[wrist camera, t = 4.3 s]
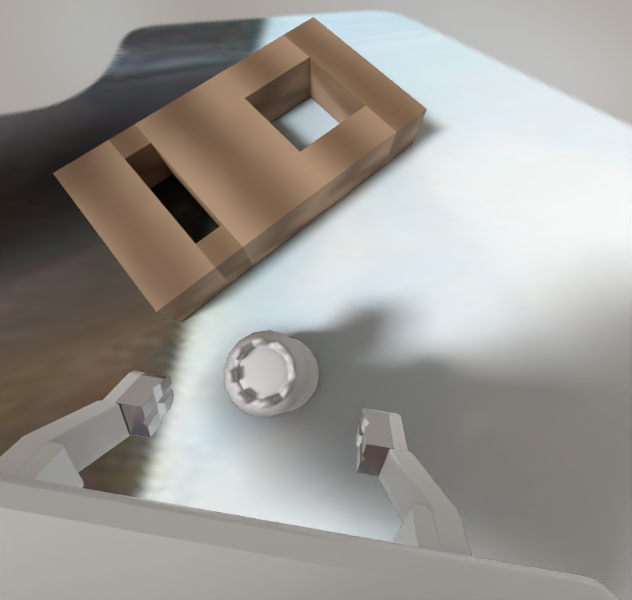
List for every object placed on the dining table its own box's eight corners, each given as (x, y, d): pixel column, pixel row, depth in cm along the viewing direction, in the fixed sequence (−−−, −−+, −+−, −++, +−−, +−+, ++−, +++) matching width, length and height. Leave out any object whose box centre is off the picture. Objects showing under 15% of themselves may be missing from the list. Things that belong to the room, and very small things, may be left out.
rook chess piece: (287, 324, 19) (269, 287, 11) (334, 375, 18) (350, 376, 10) (233, 371, 18) (172, 367, 10) (280, 428, 17) (252, 471, 9)
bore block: (313, 59, 25) (313, 16, 22) (411, 143, 22) (426, 109, 20) (89, 201, 21) (53, 173, 18) (181, 322, 18) (156, 311, 16)
